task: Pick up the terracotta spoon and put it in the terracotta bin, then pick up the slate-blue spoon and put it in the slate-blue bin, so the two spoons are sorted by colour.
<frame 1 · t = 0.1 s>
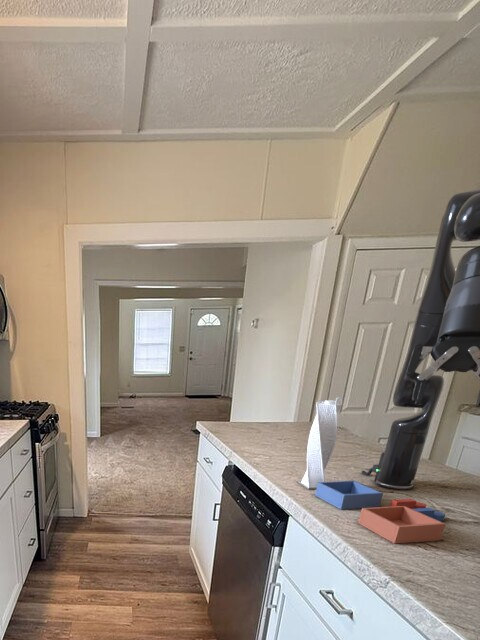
hand: (447, 404, 71), 31 cm above the countertop, tool tilted 20°, fingers open, 8 cm apart
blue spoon: (422, 519, 102), on the countertop
terracotta bin: (397, 531, 96), on the countertop
skyscraper: (313, 486, 127), on the countertop
blue bin: (345, 501, 115), on the countertop
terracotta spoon: (405, 509, 108), on the countertop
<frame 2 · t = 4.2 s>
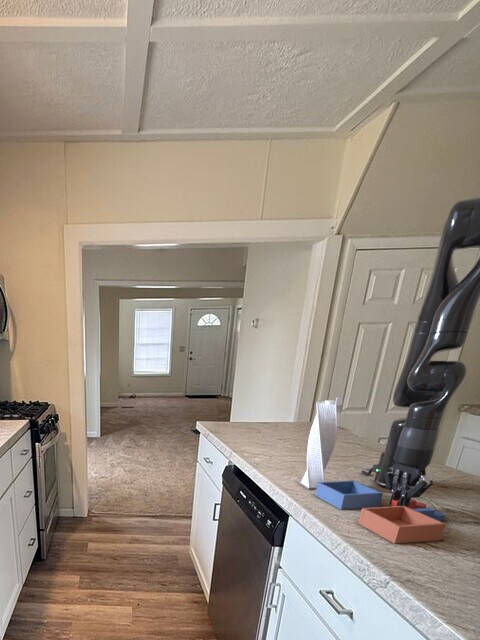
hand: (397, 508, 108), 1 cm above the countertop, tool pointing down, fingers closed on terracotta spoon
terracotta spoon: (405, 509, 108), on the countertop, touching gripper
everything else where it was.
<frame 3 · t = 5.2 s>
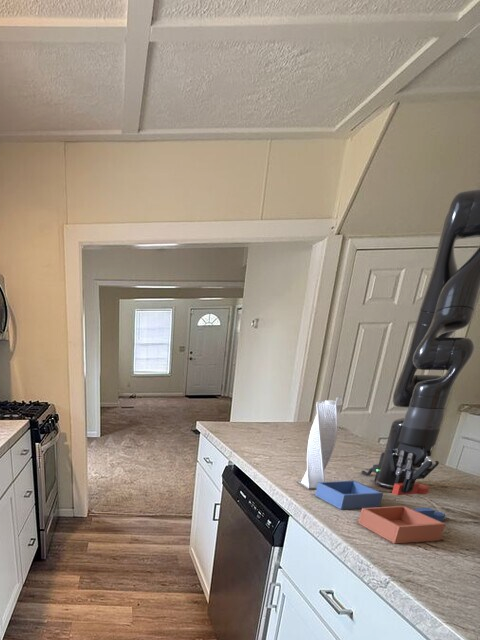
hand: (402, 490, 106), 6 cm above the countertop, tool pointing down, fingers closed on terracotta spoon
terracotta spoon: (408, 493, 107), point 5 cm above the countertop, touching gripper
everything else where it was.
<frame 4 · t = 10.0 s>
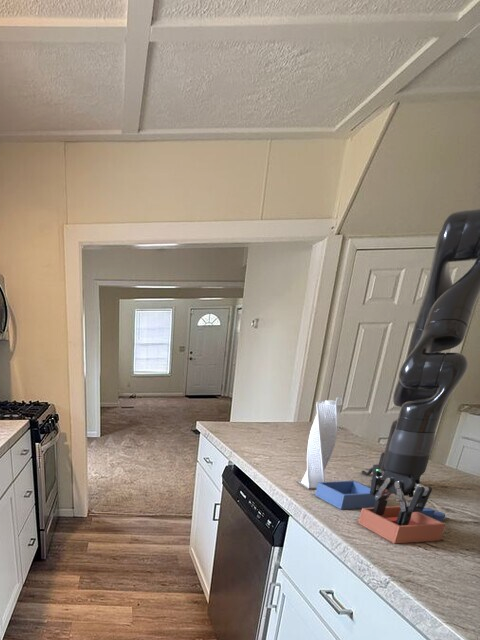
hand: (389, 520, 94), 3 cm above the countertop, tool pointing down, fingers open, 6 cm apart
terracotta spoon: (394, 529, 95), point 1 cm above the countertop, touching terracotta bin
everything else where it was.
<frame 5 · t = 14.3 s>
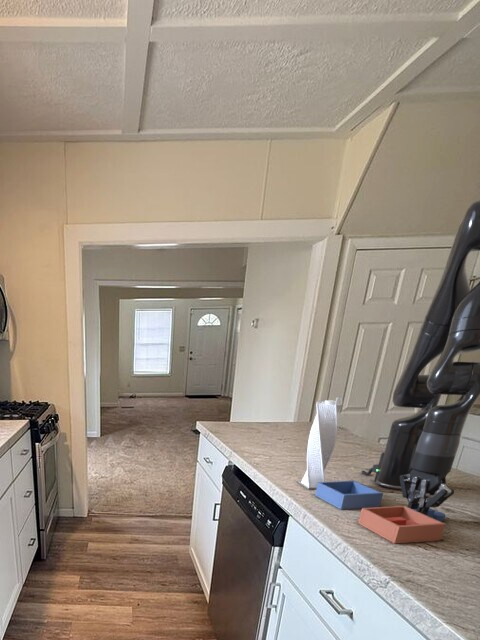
hand: (414, 518, 101), 1 cm above the countertop, tool pointing down, fingers closed on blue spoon, 2 cm apart
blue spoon: (423, 519, 102), on the countertop, touching gripper
everything else where it was.
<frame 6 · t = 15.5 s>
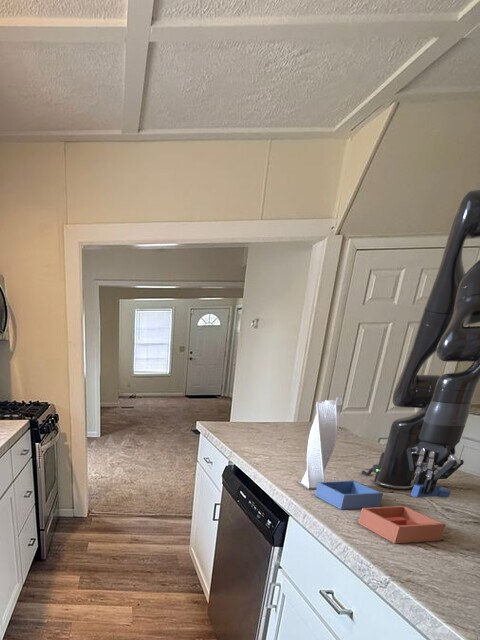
hand: (422, 491, 99), 8 cm above the countertop, tool pointing down, fingers closed on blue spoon
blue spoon: (428, 495, 100), point 6 cm above the countertop, touching gripper
everything else where it was.
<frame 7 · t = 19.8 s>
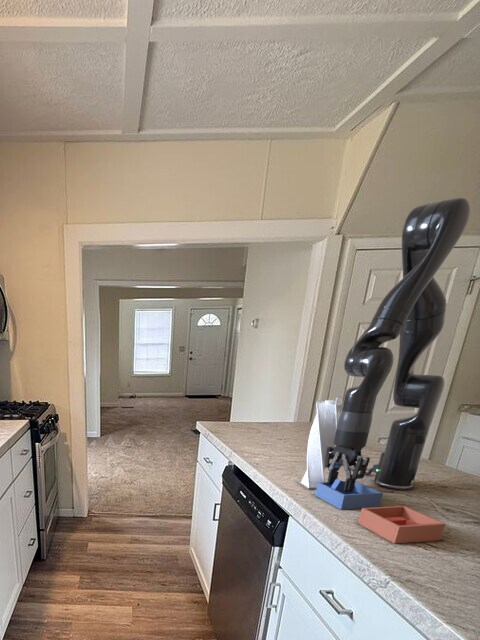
hand: (339, 487, 113), 4 cm above the countertop, tool pointing down, fingers open, 6 cm apart
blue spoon: (343, 493, 113), point 3 cm above the countertop, tilted 23°, touching blue bin
everything else where it was.
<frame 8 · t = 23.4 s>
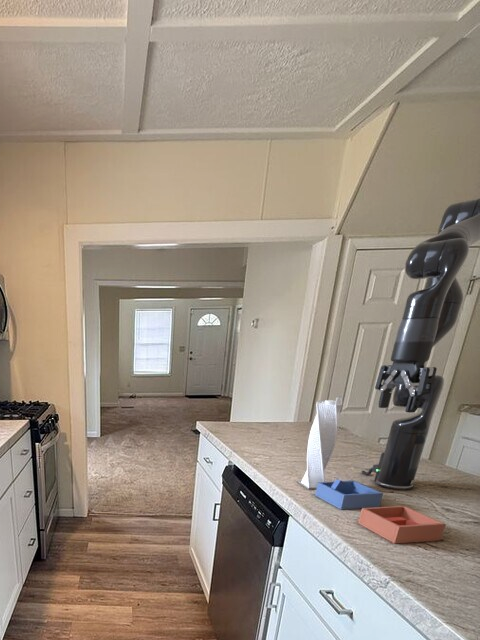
hand: (395, 409, 101), 26 cm above the countertop, tool pointing down, fingers open, 8 cm apart
nothing on the countertop moved.
at the end: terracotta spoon inside the target area in the terracotta bin (1.0 cm from its centre), point 0.6 cm above the terracotta bin's base; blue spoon inside the target area in the blue bin (1.5 cm from its centre), point 2.6 cm above the blue bin's base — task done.
